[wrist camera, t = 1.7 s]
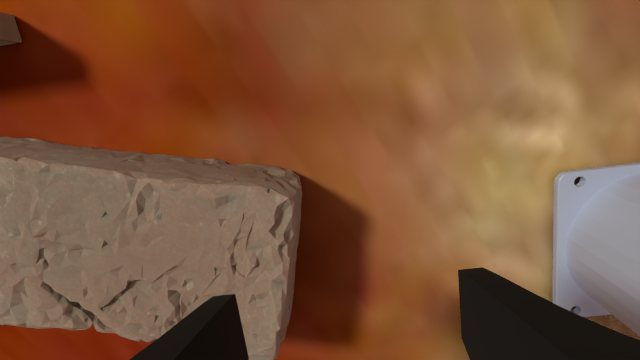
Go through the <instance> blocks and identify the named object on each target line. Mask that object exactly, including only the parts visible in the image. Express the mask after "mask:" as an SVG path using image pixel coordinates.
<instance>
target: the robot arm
mask: <svg viewBox="0 0 640 360" xmlns="http://www.w3.org/2000/svg"><path fill="white" fill-rule="evenodd" d="M577 177H580V182H579V183H578V184H576V185H575V184H574V181H575V179H576V178H577ZM458 275H459V294H460V313H461V333H462V340H463V342H464V345H465V348H466V350H467V353H468V355H469V358H470V360H640V340H637V339H634V338H632V337H629V336H626V335H624V334H621V333H619V332H616V331H614V330H611V329H609V328H607V327H604V326H602V325H600V324H597V323H595V322H593V321H591V320H588V319H586V318H584V317H592V316H603V315H613V316H614V317H616V318H617V319H618V320H619V321H621V322H622V323H623V324H624V325H625V326H627V327H628V328H629V329H630V330H632V331H633V332H634V333H635V334H637V335H638V336H639V337H640V162H638V163H630V164H621V165H613V166H605V167H597V168H588V169H580V170H572V171H564V172H561V173H560V174H558V175H557V176H556V178H555V181H554V223H553V293H552V302H550V301H548V300H546V299H544V298H542V297H540V296H538V295H536V294H534V293H532V292H530V291H528V290H526V289H524V288H522V287H520V286H519V285H517V284H515V283H513V282H511V281H509V280H507V279H505V278H503V277H501V276H499V275H497V274H495V273H493V272H491V271H489V270H487V269H484V268H473V269H464V270H458ZM574 306H576V308H575V309H574V310H571V308H572V307H574ZM130 360H249V356H248V352H247V347H246V342H245V337H244V333H243V328H242V323H241V319H240V314H239V309H238V304H237V300H236V295H235V294H229V295H220V296H213V297H212V298H210V299H208V300H207V301H205V302H204V303H203V304H201V305H200V306H199V307H197V308H196V309H195V310H194V311H192V312H191V313H190V314H189V315H187V316H186V317H185V318H184V319H182V320H181V321H180V322H178V323H177V324H176V325H175V326H173V327H172V328H171V329H170V330H168V331H167V332H166V333H165V334H163V335H162V336H161V337H159V338H158V339H157V340H156V341H154V342H153V343H152V344H150V345H149V346H147V347H146V348H145V349H143V350H142V351H141V352H139V353H138V354H137V355H135V356H134V357H132V358H131V359H130Z"/></svg>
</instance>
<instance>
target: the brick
mask: <svg viewBox="0 0 640 360" xmlns="http://www.w3.org/2000/svg"><path fill="white" fill-rule="evenodd" d="M301 202H302V186H301V182H300V178H299V176H298V175H297V174H295V173H294V172H292V171H290V170H283V169H281V168H280V167H275V166H262V165H255V164H251V163H248V164H240V165H229V164H227V163H226V162H225V161H222V160H219V159H199V158H191V157H181V156H171V155H166V154H151V155H150V154H146V153H143V152H126V151H115V150H107V149H101V148H94V147H76V146H70V145H66V144H61V143H53V142H48V141H44V140H39V139H31V138H11V137H0V324H1V325H13V326H20V327H28V328H39V329H42V328H62V329H67V330H85V329H88V328H90V327H92V326H93V325H94V327H95V329H96V331H97V332H102V333H116V334H118V335H119V336H122V337H125V338H128V339H131V340H134V341H139V342H140V341H141V340H143V341H145V342H151V341H154V340H157V339H158V338H159V337H161V336H162V335H163V334H165V333H166V332H167V331H168V330H170V329H171V328H172V327H173V326H175V325H176V324H177V323H178V322H180V321H181V320H182V319H184V318H185V317H186V316H187V315H189V314H190V313H191V312H192V311H194V310H195V309H196V308H197V307H199V306H200V305H201V304H203V303H204V302H205V301H207V300H208V299H210V298H212V297H213V296H220V295H229V294H235V295H236V300H237V304H238V309H239V314H240V319H241V323H242V328H243V333H244V337H245V342H246V347H247V352H248V356H249V360H274V359H275V358H276V357H277V356H278V352H279V346H280V343H281V342H282V341H283V340H284V338H285V335H286V331H287V326H288V325H289V320H290V316H291V311H292V302H293V295H294V285H295V266H296V259H297V247H298V243H299V235H300V222H301Z"/></svg>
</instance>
